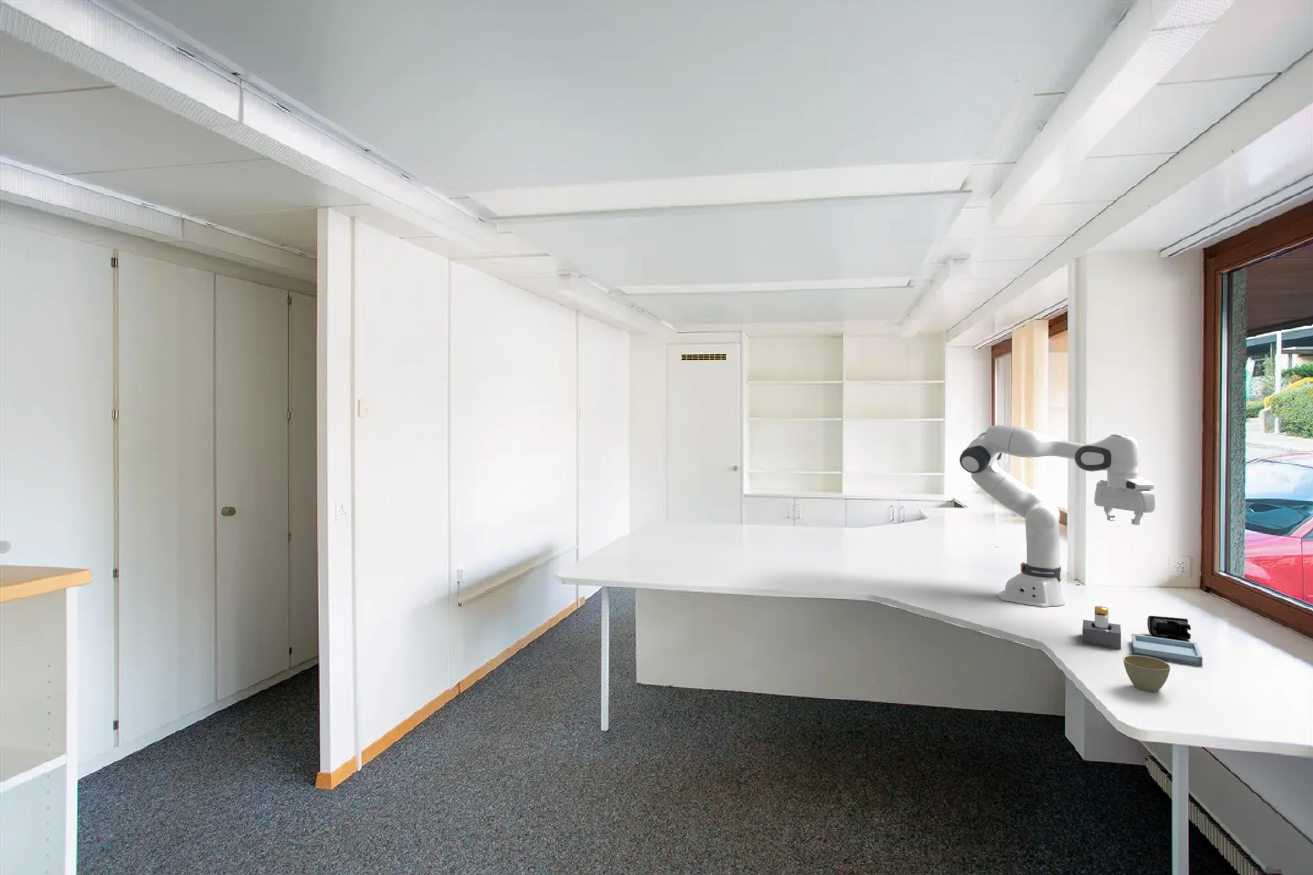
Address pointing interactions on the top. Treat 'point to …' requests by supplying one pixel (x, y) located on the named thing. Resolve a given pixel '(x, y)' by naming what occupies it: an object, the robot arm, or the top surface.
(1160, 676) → the olive bowl
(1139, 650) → the tray
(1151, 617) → the end cap
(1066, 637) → the top surface
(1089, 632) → the socket block
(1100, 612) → the gold and grey cylinder
